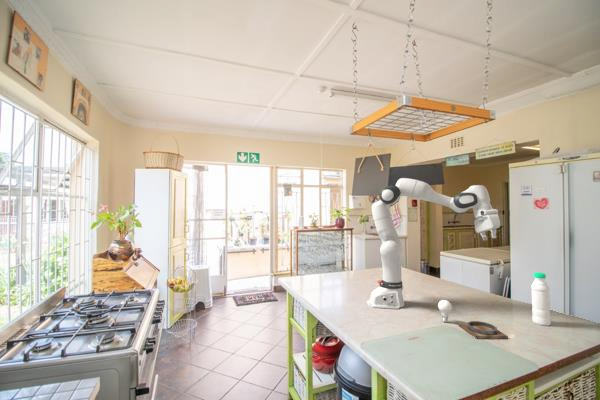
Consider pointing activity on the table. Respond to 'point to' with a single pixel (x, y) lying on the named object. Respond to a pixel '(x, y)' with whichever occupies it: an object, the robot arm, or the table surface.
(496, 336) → the board
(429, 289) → the table surface
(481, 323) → the collar
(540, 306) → the water bottle
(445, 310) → the lightbulb
